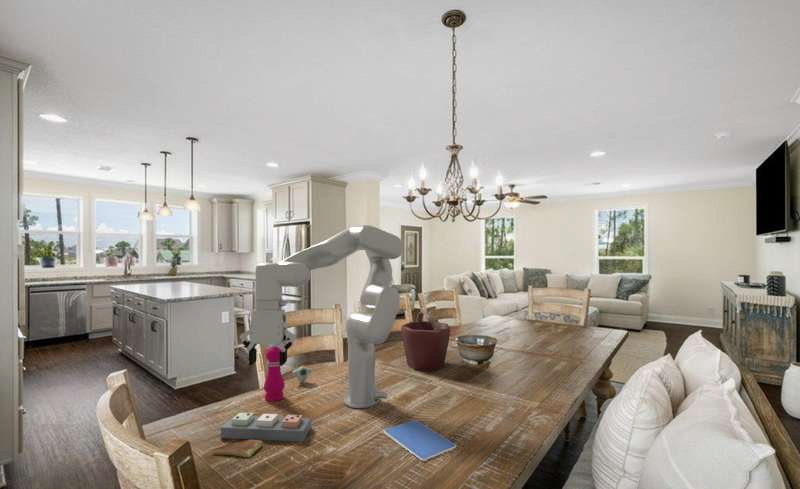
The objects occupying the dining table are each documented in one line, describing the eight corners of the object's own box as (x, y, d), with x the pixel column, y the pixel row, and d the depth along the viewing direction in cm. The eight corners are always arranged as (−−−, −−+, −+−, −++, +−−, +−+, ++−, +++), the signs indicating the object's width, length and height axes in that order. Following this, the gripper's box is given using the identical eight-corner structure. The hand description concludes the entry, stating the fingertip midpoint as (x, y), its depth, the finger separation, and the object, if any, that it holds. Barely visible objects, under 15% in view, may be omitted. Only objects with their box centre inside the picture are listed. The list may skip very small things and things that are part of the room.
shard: (211, 455, 99) (211, 448, 99) (229, 441, 107) (229, 434, 107) (248, 460, 97) (248, 453, 97) (264, 445, 105) (264, 438, 105)
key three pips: (302, 421, 112) (302, 414, 112) (296, 428, 108) (296, 421, 108) (287, 421, 112) (287, 413, 112) (281, 428, 108) (282, 420, 108)
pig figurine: (311, 379, 155) (311, 363, 155) (313, 383, 152) (313, 366, 152) (291, 382, 152) (291, 366, 152) (293, 386, 148) (293, 369, 148)
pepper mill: (278, 403, 132) (278, 345, 132) (259, 401, 133) (260, 344, 134) (288, 395, 139) (288, 341, 139) (270, 393, 140) (270, 340, 141)
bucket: (451, 374, 162) (452, 316, 163) (400, 374, 163) (401, 316, 163) (445, 358, 187) (445, 308, 187) (401, 357, 187) (401, 307, 188)
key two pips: (253, 419, 113) (253, 412, 113) (246, 426, 109) (246, 419, 109) (239, 419, 114) (239, 411, 114) (231, 426, 109) (231, 418, 109)
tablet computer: (458, 449, 103) (458, 445, 103) (422, 465, 96) (422, 459, 96) (415, 423, 119) (415, 418, 119) (381, 434, 111) (381, 429, 111)
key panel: (311, 428, 114) (311, 418, 114) (302, 441, 106) (302, 430, 106) (235, 424, 116) (235, 415, 116) (220, 437, 108) (220, 427, 108)
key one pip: (277, 420, 113) (277, 413, 113) (271, 427, 108) (271, 420, 108) (263, 420, 113) (263, 412, 113) (256, 427, 109) (256, 419, 109)
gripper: (301, 303, 114) (300, 361, 114) (246, 302, 116) (245, 359, 115) (292, 307, 107) (291, 368, 107) (233, 306, 108) (232, 366, 108)
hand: (267, 363), depth 111 cm, fingers open, 8 cm apart
